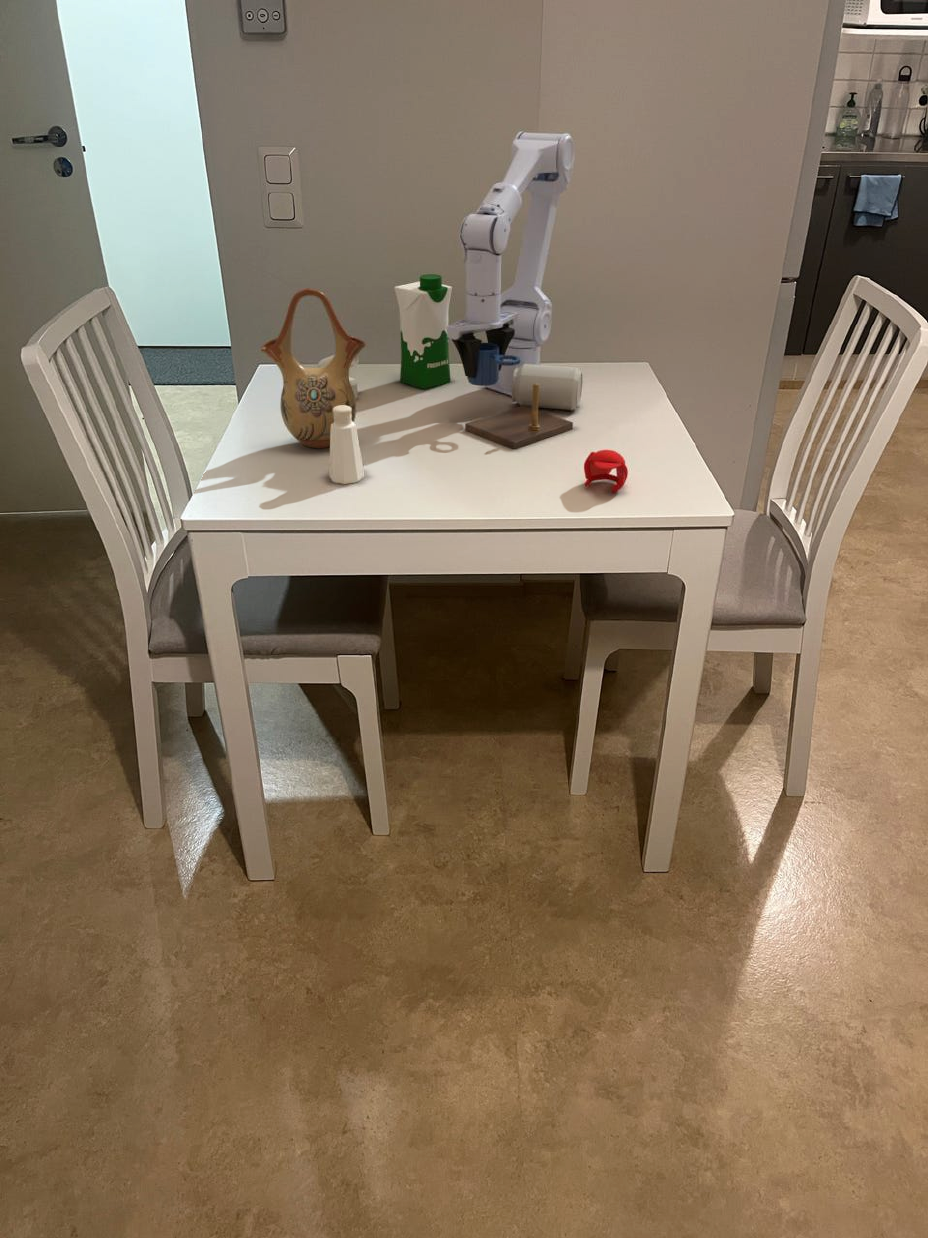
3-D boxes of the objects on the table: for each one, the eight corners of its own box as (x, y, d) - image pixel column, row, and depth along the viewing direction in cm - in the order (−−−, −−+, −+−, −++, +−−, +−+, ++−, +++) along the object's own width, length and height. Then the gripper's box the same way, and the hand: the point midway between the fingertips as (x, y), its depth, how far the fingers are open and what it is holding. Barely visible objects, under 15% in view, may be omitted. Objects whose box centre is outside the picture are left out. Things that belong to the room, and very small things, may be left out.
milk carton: (424, 391, 180) (421, 282, 170) (392, 381, 186) (388, 274, 175) (457, 381, 186) (456, 274, 175) (426, 371, 191) (423, 267, 181)
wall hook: (338, 355, 168) (297, 346, 173) (341, 408, 173) (301, 397, 178) (370, 344, 173) (329, 335, 178) (372, 395, 178) (333, 386, 183)
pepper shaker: (331, 470, 148) (326, 401, 142) (366, 470, 148) (362, 401, 142) (326, 484, 144) (320, 413, 138) (362, 484, 143) (358, 413, 138)
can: (584, 380, 174) (519, 375, 177) (581, 359, 167) (514, 355, 170) (578, 417, 173) (513, 412, 175) (575, 398, 165) (507, 393, 168)
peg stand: (465, 429, 163) (465, 378, 158) (523, 411, 171) (524, 362, 166) (514, 449, 155) (515, 396, 151) (572, 428, 163) (575, 377, 159)
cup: (461, 380, 166) (461, 346, 163) (483, 374, 169) (484, 340, 166) (504, 395, 159) (504, 360, 156) (526, 388, 162) (527, 353, 159)
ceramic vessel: (369, 431, 162) (360, 279, 149) (373, 451, 155) (364, 292, 142) (271, 437, 160) (254, 283, 147) (271, 457, 153) (252, 296, 140)
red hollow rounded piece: (579, 477, 145) (581, 440, 142) (617, 476, 146) (621, 439, 143) (588, 499, 139) (591, 460, 135) (629, 498, 139) (632, 459, 136)
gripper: (466, 303, 151) (467, 387, 158) (531, 289, 159) (528, 369, 167) (438, 295, 156) (439, 377, 163) (502, 282, 164) (501, 360, 171)
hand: (482, 373), depth 165 cm, fingers closed on cup, 5 cm apart
